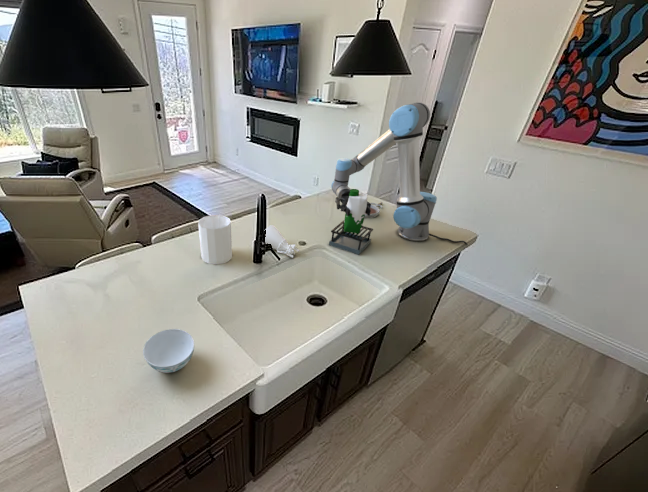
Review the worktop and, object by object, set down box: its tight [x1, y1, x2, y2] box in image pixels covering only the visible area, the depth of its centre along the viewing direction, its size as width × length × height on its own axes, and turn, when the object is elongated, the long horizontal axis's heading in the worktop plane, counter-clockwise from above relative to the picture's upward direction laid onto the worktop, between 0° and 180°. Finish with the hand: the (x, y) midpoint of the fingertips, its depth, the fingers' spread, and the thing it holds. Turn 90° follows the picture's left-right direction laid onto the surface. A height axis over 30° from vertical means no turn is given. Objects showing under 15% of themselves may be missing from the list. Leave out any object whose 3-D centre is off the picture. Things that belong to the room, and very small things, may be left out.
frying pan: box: [364, 201, 383, 219], centre depth 201 cm, size 17×3×28 cm
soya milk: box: [343, 188, 368, 235], centre depth 156 cm, size 9×9×20 cm
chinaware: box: [142, 328, 195, 374], centre depth 100 cm, size 15×15×8 cm
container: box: [197, 214, 233, 265], centre depth 151 cm, size 14×14×18 cm
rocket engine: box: [265, 224, 301, 259], centre depth 158 cm, size 12×12×18 cm
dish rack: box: [328, 220, 374, 255], centre depth 164 cm, size 16×15×8 cm
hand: (359, 213), depth 152 cm, fingers closed on soya milk, 9 cm apart
